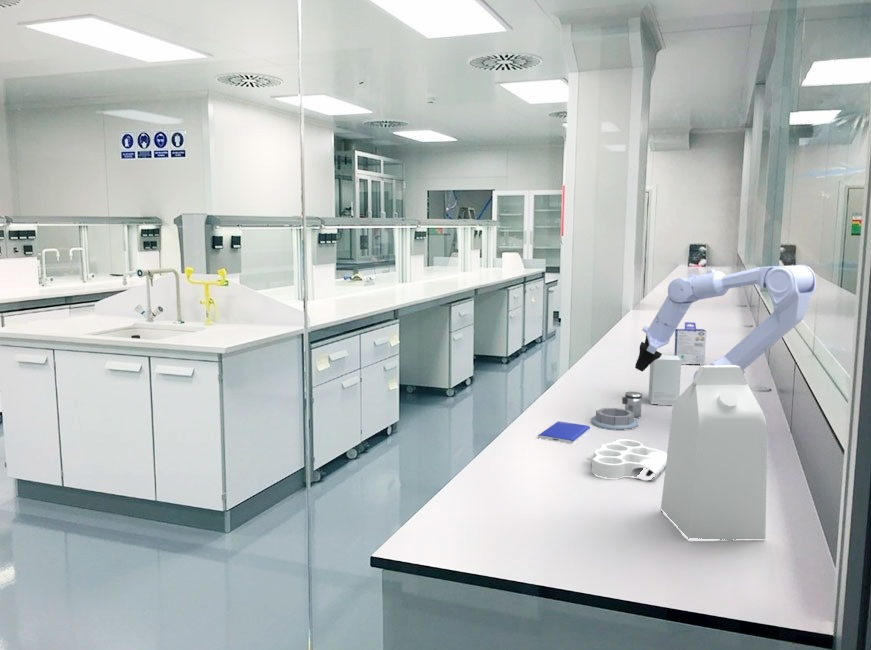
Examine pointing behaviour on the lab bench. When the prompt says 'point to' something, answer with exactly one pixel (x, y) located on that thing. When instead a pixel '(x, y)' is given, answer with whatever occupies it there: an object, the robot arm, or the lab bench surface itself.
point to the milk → (717, 458)
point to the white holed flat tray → (626, 459)
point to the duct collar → (614, 419)
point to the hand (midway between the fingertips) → (641, 362)
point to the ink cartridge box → (690, 344)
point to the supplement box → (664, 380)
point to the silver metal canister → (633, 403)
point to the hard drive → (564, 432)
